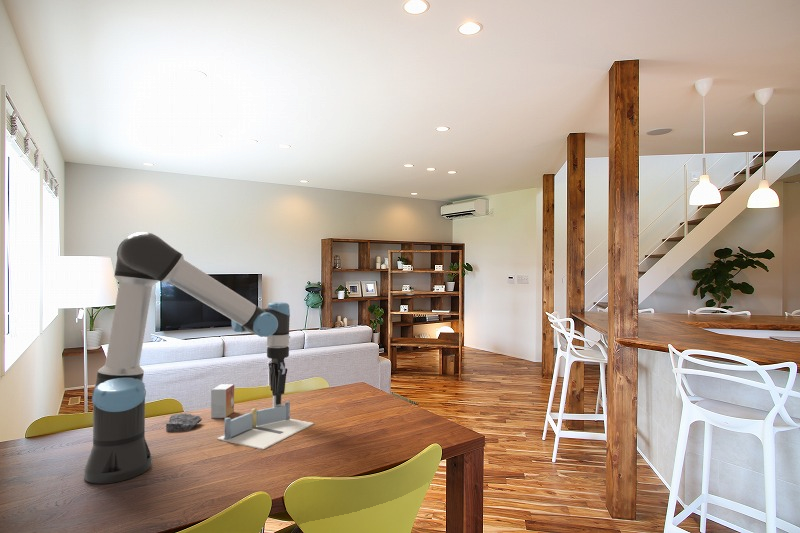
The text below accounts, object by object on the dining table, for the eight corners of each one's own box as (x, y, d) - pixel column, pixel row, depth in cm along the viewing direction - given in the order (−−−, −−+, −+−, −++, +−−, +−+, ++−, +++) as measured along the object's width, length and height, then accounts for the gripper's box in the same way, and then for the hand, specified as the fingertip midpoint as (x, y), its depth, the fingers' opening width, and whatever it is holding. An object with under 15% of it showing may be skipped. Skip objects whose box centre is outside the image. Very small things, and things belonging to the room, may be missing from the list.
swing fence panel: (252, 427, 148) (252, 409, 149) (250, 426, 150) (250, 408, 150) (290, 419, 157) (290, 402, 157) (288, 417, 158) (288, 401, 159)
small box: (225, 418, 160) (226, 389, 160) (210, 418, 160) (210, 389, 160) (234, 411, 168) (234, 383, 168) (219, 411, 168) (220, 383, 168)
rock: (194, 431, 147) (195, 419, 147) (162, 432, 146) (163, 420, 146) (202, 424, 155) (202, 411, 155) (172, 424, 154) (172, 412, 154)
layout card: (263, 449, 132) (263, 448, 132) (216, 439, 140) (216, 437, 140) (313, 424, 154) (313, 422, 154) (271, 416, 162) (271, 415, 162)
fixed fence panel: (227, 441, 138) (227, 419, 138) (223, 440, 139) (223, 418, 139) (252, 430, 148) (252, 410, 148) (248, 429, 149) (248, 409, 149)
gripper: (295, 347, 153) (293, 416, 153) (282, 342, 164) (281, 406, 164) (273, 349, 149) (272, 419, 149) (261, 344, 160) (260, 409, 159)
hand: (276, 412), depth 156 cm, fingers closed
